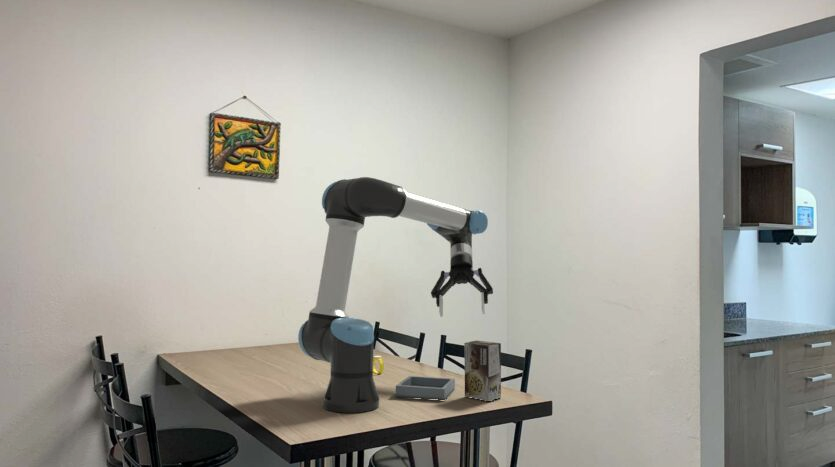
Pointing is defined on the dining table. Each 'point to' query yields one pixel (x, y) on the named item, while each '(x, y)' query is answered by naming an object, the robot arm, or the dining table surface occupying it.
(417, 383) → the tray
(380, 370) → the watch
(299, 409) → the dining table surface
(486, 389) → the coffee box
